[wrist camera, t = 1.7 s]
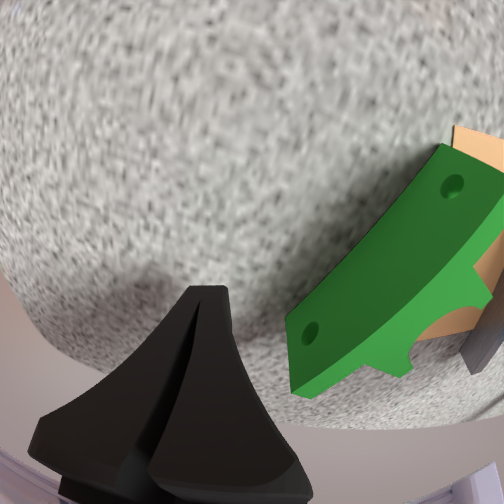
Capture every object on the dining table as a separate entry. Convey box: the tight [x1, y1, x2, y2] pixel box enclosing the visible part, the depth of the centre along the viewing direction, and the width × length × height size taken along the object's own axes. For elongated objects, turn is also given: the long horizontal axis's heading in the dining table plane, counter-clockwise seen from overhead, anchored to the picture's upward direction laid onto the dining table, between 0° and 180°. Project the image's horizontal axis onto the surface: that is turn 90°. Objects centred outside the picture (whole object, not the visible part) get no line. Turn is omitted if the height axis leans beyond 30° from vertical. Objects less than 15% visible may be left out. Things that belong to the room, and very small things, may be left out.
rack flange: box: [416, 125, 504, 375], centre depth 11 cm, size 10×18×2 cm, turn 2°
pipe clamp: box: [285, 143, 504, 399], centre depth 10 cm, size 11×4×5 cm, turn 146°
